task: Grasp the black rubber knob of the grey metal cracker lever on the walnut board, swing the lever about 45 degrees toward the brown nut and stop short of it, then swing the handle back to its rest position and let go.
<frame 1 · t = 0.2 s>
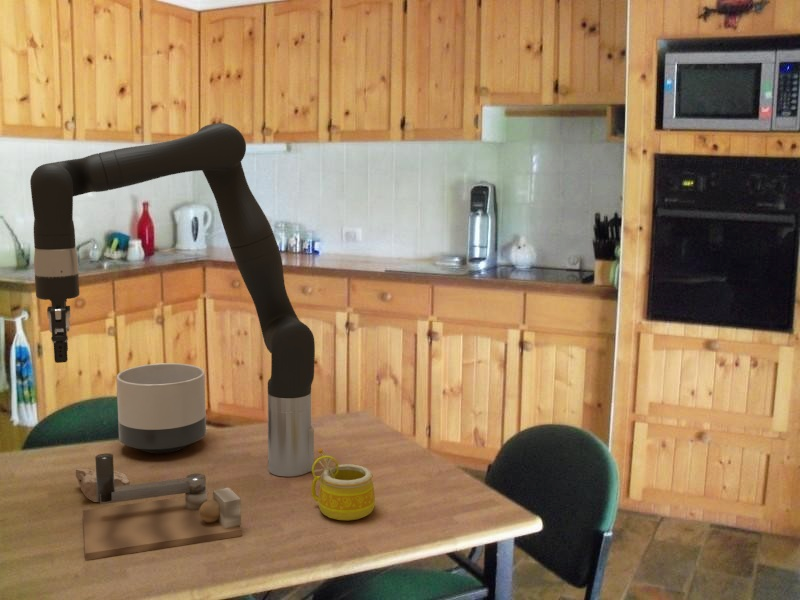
hand: (61, 356, 153), 29 cm above the table, fingers open, 8 cm apart
lever: (152, 473, 149), point 9 cm above the table, hinge at 0.0°
mug: (341, 512, 155), on the table
stone: (98, 495, 161), on the table
planter: (163, 448, 188), on the table
board: (160, 525, 147), on the table
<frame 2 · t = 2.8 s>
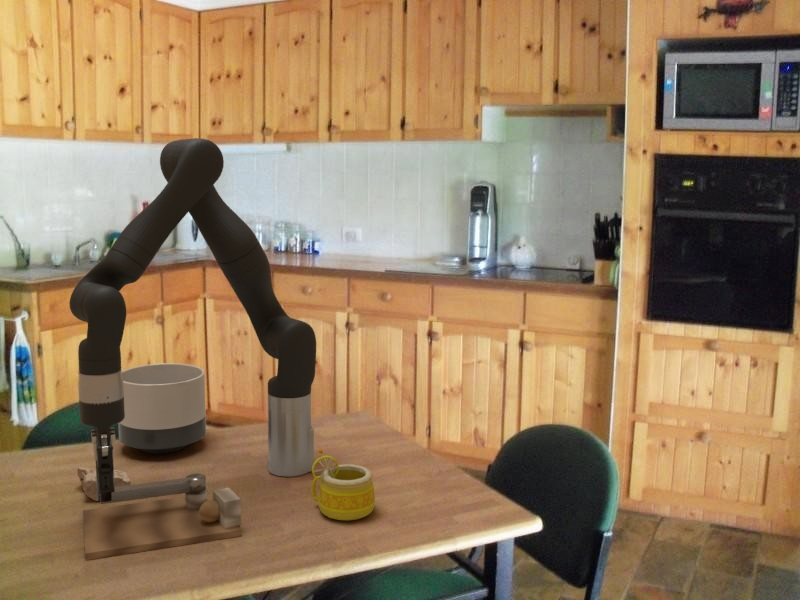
hand: (105, 487, 146), 7 cm above the table, fingers closed on lever, 3 cm apart
lever: (152, 473, 149), point 9 cm above the table, hinge at 0.0°, touching gripper
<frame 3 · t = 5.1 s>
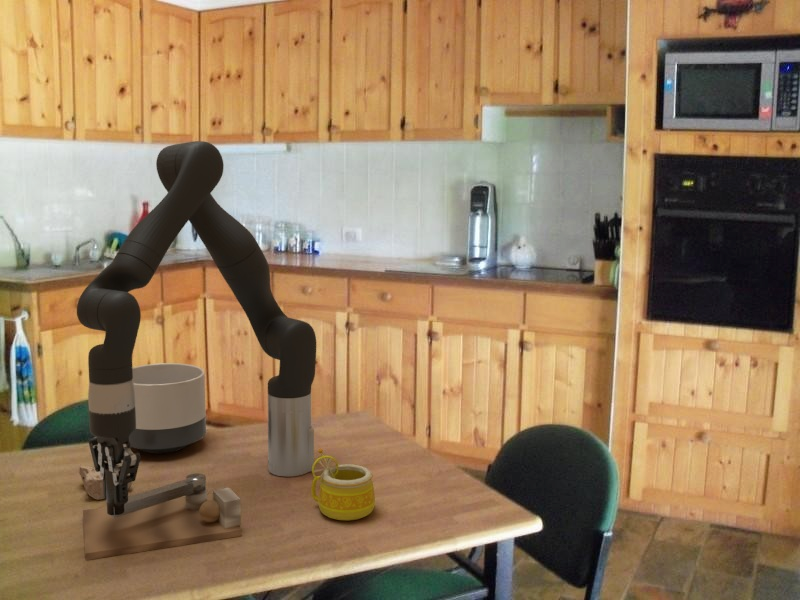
hand: (115, 499, 141), 7 cm above the table, fingers closed on lever, 3 cm apart
lever: (157, 478, 147), point 9 cm above the table, hinge at 24.0°, touching gripper
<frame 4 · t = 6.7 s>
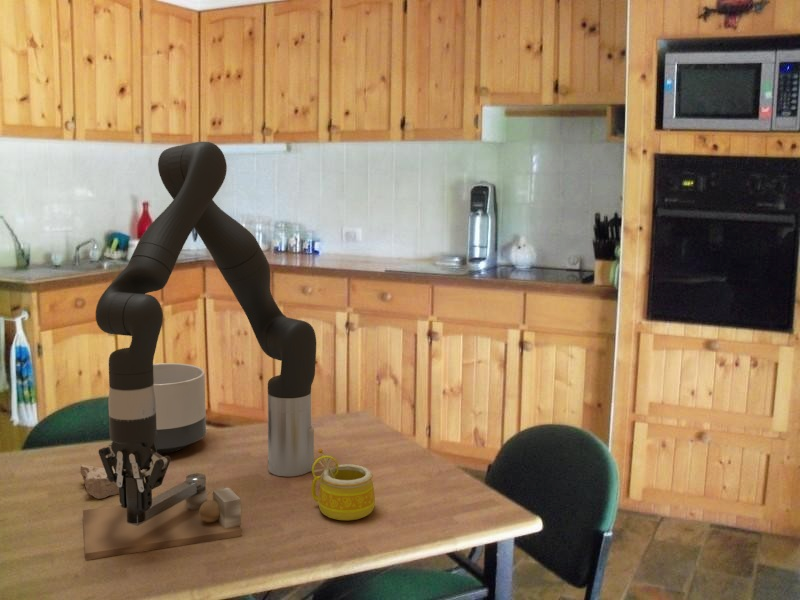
hand: (135, 507, 138), 7 cm above the table, fingers closed on lever, 3 cm apart
lever: (167, 482, 145), point 9 cm above the table, hinge at 43.4°, touching gripper
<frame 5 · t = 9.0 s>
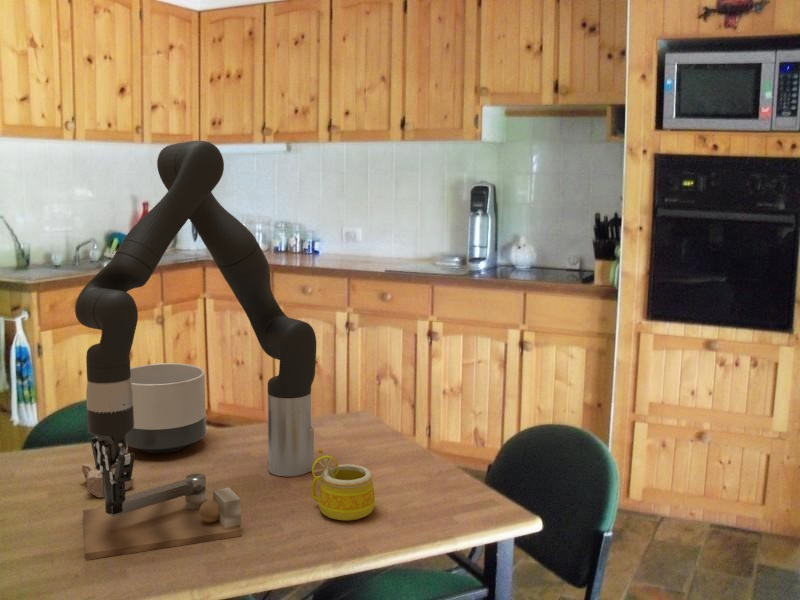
hand: (114, 498, 142), 7 cm above the table, fingers closed on lever, 3 cm apart
lever: (156, 478, 147), point 9 cm above the table, hinge at 21.7°, touching gripper
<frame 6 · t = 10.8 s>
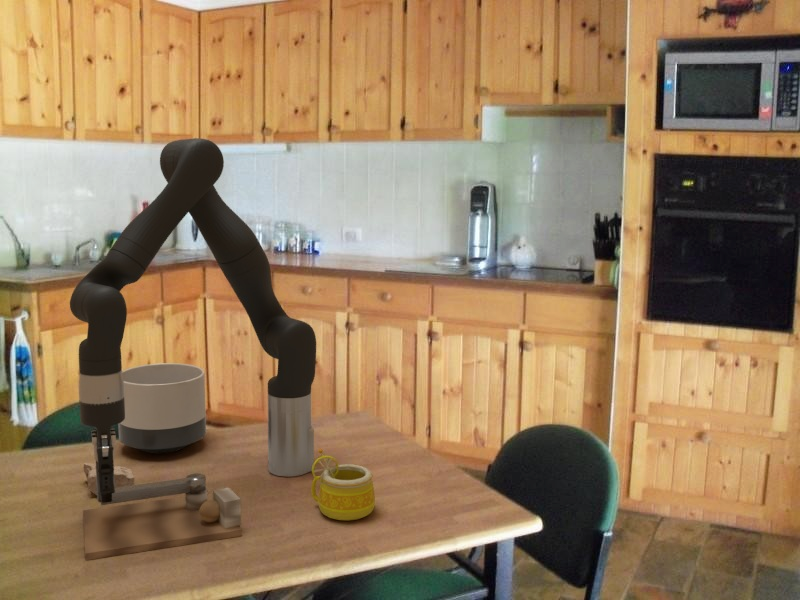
hand: (105, 488, 146), 7 cm above the table, fingers closed on lever, 3 cm apart
lever: (152, 473, 149), point 9 cm above the table, hinge at 1.6°, touching gripper
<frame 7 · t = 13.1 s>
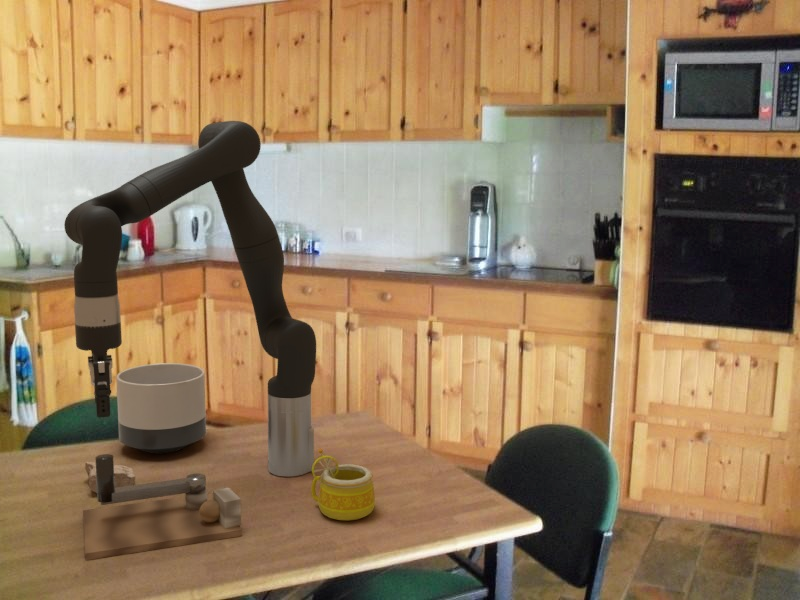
hand: (102, 409, 144), 22 cm above the table, fingers open, 8 cm apart
lever: (152, 473, 149), point 9 cm above the table, hinge at 1.5°
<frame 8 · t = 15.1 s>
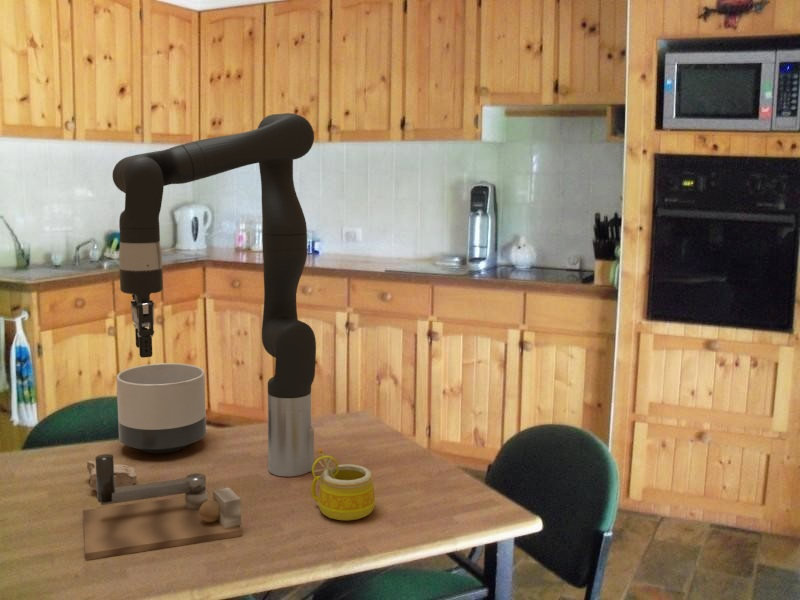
hand: (143, 351, 152), 30 cm above the table, fingers open, 8 cm apart
at the end: lever at +2° (first picture: +0°); the gripper is holding nothing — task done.
